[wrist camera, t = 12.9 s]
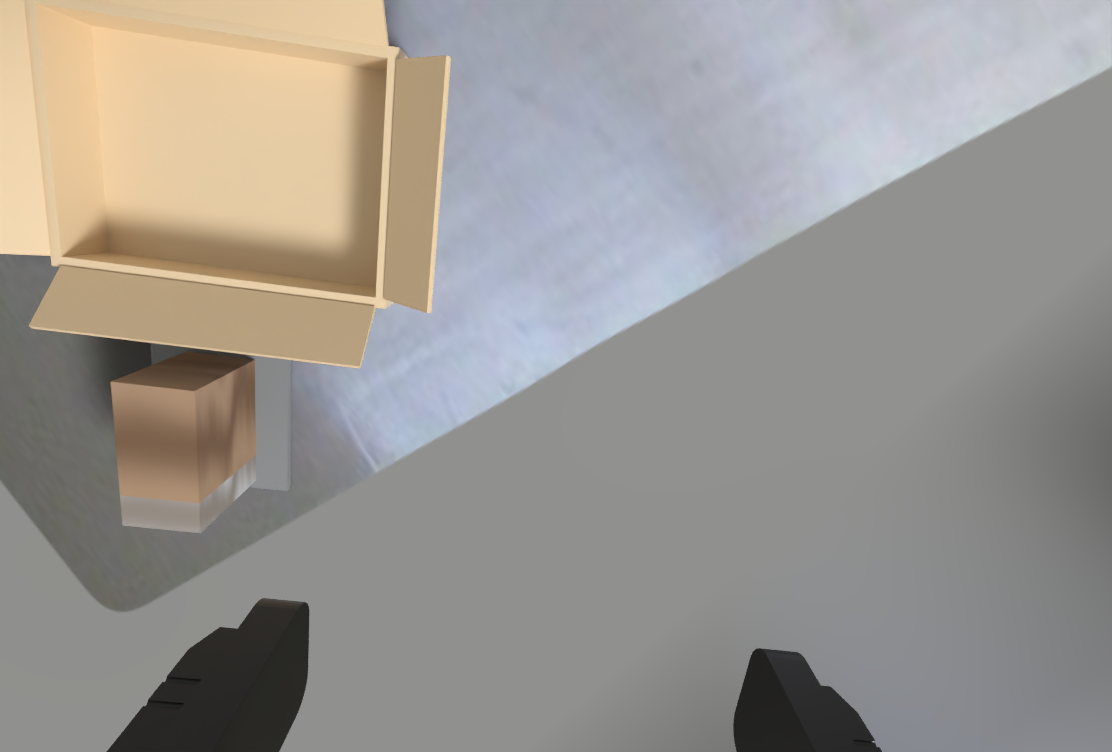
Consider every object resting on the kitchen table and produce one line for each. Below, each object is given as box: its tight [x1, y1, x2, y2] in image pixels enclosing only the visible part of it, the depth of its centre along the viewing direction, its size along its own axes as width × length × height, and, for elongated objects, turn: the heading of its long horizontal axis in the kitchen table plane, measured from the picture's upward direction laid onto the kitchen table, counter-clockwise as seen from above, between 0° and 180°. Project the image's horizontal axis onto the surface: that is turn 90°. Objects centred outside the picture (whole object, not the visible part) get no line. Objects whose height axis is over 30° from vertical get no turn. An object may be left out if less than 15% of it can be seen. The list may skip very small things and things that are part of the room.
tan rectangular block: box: [111, 352, 256, 533], centre depth 36 cm, size 9×4×7 cm, turn 172°
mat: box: [150, 343, 292, 491], centre depth 40 cm, size 10×9×1 cm
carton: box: [0, 0, 451, 368], centre depth 32 cm, size 20×26×7 cm
